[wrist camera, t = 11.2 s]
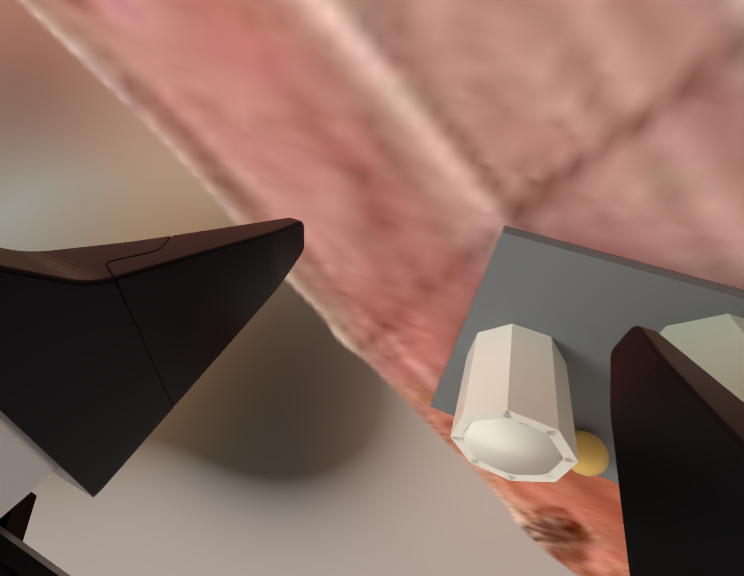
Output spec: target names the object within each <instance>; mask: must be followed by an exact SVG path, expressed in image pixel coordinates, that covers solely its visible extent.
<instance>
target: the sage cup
mask: <svg viewBox="0 0 744 576" xmlns="http://www.w3.org/2000/svg"><path fill="white" fill-rule="evenodd" d="M659 334H660V335H662V336H663V337H664V338H665V339H667V340H668V341H669V342H670V343H672V344H673V345H674V346H675V347H676V348H678V349H679V350H680V351H681V352H683V353H684V354H685V355H686V356H688V357H689V358H690V359H691V360H692V361H694V362H695V363H696V364H697V365H699V366H700V367H701V368H702V369H704V370H705V371H706V372H707V373H708V374H710V375H711V376H712V377H713V378H715V379H716V380H717V381H718V382H720V383H721V384H722V385H723V386H724V387H726V388H727V389H728V390H729V391H731V392H732V393H733V394H734V395H736V396H737V397H738V398H739V399H740V400H742V401H743V402H744V318H742V317H738V316H735V315H731V314H723V315H719V316H714V317H709V318H704V319H699V320H694V321H689V322H684V323H679V324H674V325H669V326H666V327H665V328H664V329H663V330H662V331H661V332H660V333H659Z"/></svg>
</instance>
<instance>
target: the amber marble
mask: <svg viewBox="0 0 744 576" xmlns="http://www.w3.org/2000/svg"><path fill="white" fill-rule="evenodd" d="M575 438H576V446H577V454H578V463H577V464H576V465H574V466H573V467H572V468H571V469H572V470H573V471H575V472H577V473H579V474H581V475H585V476H596V475H599V474H601V473H603V472H604V471H605V470H606V468H607V466H608V463H609V454H608V451H607V449H606V447H605V445H604V443H603V442H602V441H601V440H600V439H599V438H598V437H597V436H595V435H593V434H592V433H590V432H587V431H583V430H575Z"/></svg>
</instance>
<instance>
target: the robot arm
mask: <svg viewBox="0 0 744 576" xmlns="http://www.w3.org/2000/svg"><path fill="white" fill-rule="evenodd" d="M303 249H304V225H303V223H302V222H301V221H299V220H296V219H293V218H285V219H278V220H272V221H265V222H259V223H252V224H246V225H239V226H233V227H227V228H220V229H214V230H207V231H200V232H195V233H187V234H181V235H174V236H172V237H170V236H167V237H161V238H154V239H147V240H140V241H133V242H124V243H116V244H108V245H98V246H89V247H81V248H71V249H63V250H52V251H39V252H28V251H16V250H10V249H4V248H0V576H70V575H68V574H67V573H66V572H64V571H63V570H61V569H60V568H59V567H57V566H56V565H55V564H53V563H52V562H50V561H49V560H48V559H46V558H45V557H43V556H42V555H41V554H39V553H38V552H36V551H35V550H34V549H32V548H31V547H29V546H28V545H27V544H25V543H24V542H23V539H24V535H25V532H26V529H27V526H28V522H29V519H30V516H31V513H32V509H33V506H34V503H35V500H36V495H35V494H34V493H32V492H31V491H33V490H34V489H35V488H36V487H37V486H38V485H39V484H41V483H42V482H43V481H44V480H45V479H46V478H47V477H49V476H50V475H51V474H52V473H55V474H57V475H58V476H60V477H61V478H63V479H64V480H66V481H68V482H69V483H71V484H72V485H74V486H76V487H77V488H79V489H80V490H82V491H84V492H85V493H87V494H88V495H90V496H92V497H94V496H95V495H96V494H97V493H99V491H101V490H102V488H103V487H104V486H105V485H106V484H107V483H108V482H109V480H110V479H111V478H112V477H113V476H114V475H115V474H116V473H117V471H118V470H119V469H120V468H121V467H122V466H123V465H124V463H125V462H126V461H127V460H128V459H129V458H130V457H131V455H132V454H133V453H134V452H135V451H136V450H137V449H138V447H139V446H140V445H141V444H142V443H143V442H144V441H145V439H146V438H147V437H148V436H149V435H150V434H151V433H152V432H153V430H154V429H155V428H156V427H157V426H158V425H159V424H160V422H161V421H162V420H163V419H164V418H165V417H166V415H167V414H168V413H169V412H170V411H171V410H172V409H173V406H175V405H176V404H177V403H178V402H179V400H180V399H181V398H182V397H183V396H184V395H185V394H186V392H187V391H188V390H189V389H190V388H191V387H192V386H193V384H194V383H195V382H196V381H197V380H198V379H199V378H200V376H201V375H202V374H203V373H204V372H205V371H206V370H207V368H208V367H209V366H210V365H211V364H212V363H213V362H214V360H215V359H216V358H217V357H218V356H219V355H220V354H221V352H222V351H223V350H224V349H225V348H226V347H227V345H228V344H229V343H230V342H231V341H232V340H233V338H235V336H236V335H237V334H238V333H239V332H240V331H241V330H242V328H243V327H244V326H245V325H246V324H247V322H248V321H249V320H250V319H251V318H252V317H253V316H254V315H255V314H256V312H257V311H258V310H259V309H260V308H261V307H262V306H263V304H264V303H265V302H266V301H267V300H268V299H269V298H270V296H271V295H272V294H273V293H274V292H275V290H276V289H277V288H278V287H279V286H280V284H281V283H282V281H283V280H284V278H285V277H286V276H287V274H288V273H289V271H290V270H291V268H292V267H293V265H294V264H295V262H296V261H297V260H298V258H299V257H300V255H301V254H302V252H303ZM610 416H611V425H612V433H613V441H614V449H615V458H616V466H617V474H618V482H619V490H620V498H621V506H622V515H623V523H624V531H625V539H626V547H627V555H628V563H629V571H630V576H744V402H743V401H742V400H740V399H739V398H738V397H737V396H736V395H734V394H733V393H732V392H731V391H729V390H728V389H727V388H726V387H724V386H723V385H722V384H721V383H720V382H718V381H717V380H716V379H715V378H713V377H712V376H711V375H710V374H708V373H707V372H706V371H705V370H704V369H702V368H701V367H700V366H699V365H697V364H696V363H695V362H694V361H692V360H691V359H690V358H689V357H688V356H686V355H685V354H684V353H683V352H681V351H680V350H679V349H678V348H676V347H675V346H674V345H673V344H672V343H670V342H669V341H668V340H667V339H665V338H664V337H663V336H662V335H660V334H659V333H658V332H657V331H654V330H651V329H648V328H645V327H642V326H634V327H632V328H631V329H630V330H629V331H628V332H627V333H626V334H625V335H624V336H623V337H622V339H621V340H620V341H619V342H618V343H617V344H616V346H615V347H614V348H613V350H612V352H611V356H610Z"/></svg>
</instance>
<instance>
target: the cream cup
mask: <svg viewBox="0 0 744 576" xmlns="http://www.w3.org/2000/svg"><path fill="white" fill-rule="evenodd" d="M451 438H452V439H453V441H454V442H455V443H456V445H457V446H458V447H459V449H460V450H461V451H462V452H463V454H464V455H465V456H466V458H467V459H468V460H469V462H470V463H472V464H474V465H477V466H479V467H481V468H483V469H486V470H488V471H490V472H492V473H495V474H497V475H499V476H501V477H504V478H506V479H508V480H511V481H538V482H556V481H557V480H558V479H559V478H561V477H562V476H563V475H564V474H565V473H566V472H568V471H569V470H570V469H571V468H572V467H573V466H574V465H576V464H577V463H578V454H577V446H576V438H575V430H574V422H573V414H572V406H571V398H570V390H569V382H568V374H567V365H566V362H565V361H564V359H563V357H562V355H561V353H560V352H559V350H558V348H557V346H556V344H555V343H554V341H553V339H552V337H551V336H548V335H545V334H542V333H539V332H536V331H533V330H530V329H527V328H524V327H521V326H518V325H515V324H509V325H505V326H501V327H497V328H494V329H490V330H486V331H482V332H478V333H477V335H476V338H475V340H474V342H473V344H472V346H471V348H470V350H469V353H468V355H467V359H466V363H465V368H464V373H463V378H462V383H461V388H460V393H459V398H458V402H457V407H456V412H455V417H454V422H453V427H452V432H451Z"/></svg>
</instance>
